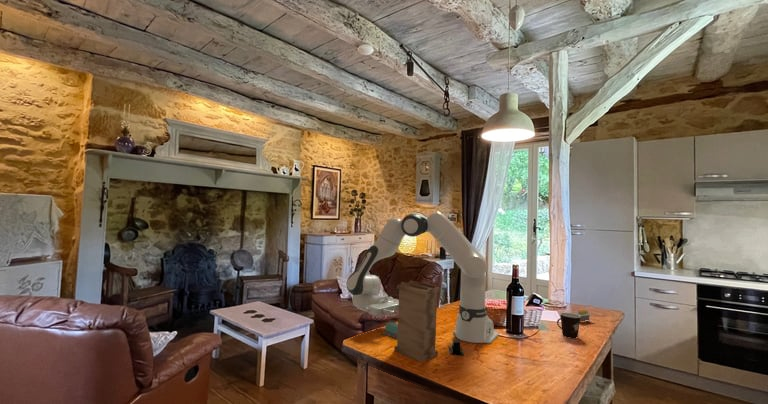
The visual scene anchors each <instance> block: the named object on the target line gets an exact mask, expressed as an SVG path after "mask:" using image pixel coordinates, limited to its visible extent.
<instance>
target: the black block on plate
mask: <svg viewBox="0 0 768 404" xmlns="http://www.w3.org/2000/svg"><path fill="white" fill-rule="evenodd" d="M448 351H449V352H448V353H449V354H450V356H458V357H462V356H463V357H465V353H464V350H463V348H462V346H461V340H460V339H457V338H456V339H455V338H454V339H453V338H452V340H451V346H449V345H448Z"/></svg>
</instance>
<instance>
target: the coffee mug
mask: <svg viewBox="0 0 768 404" xmlns="http://www.w3.org/2000/svg"><path fill="white" fill-rule="evenodd" d="M580 317H581V316H579V315H577V314H576V313H571V312H561V313H560V318H558V319H557V322H556V324H557V326H558V328H560V329H561V331H562V332H561V333H562V334H563V335H564V336H563V335H562V334H561V335H562V336H563V337H565V336H566V337H565V338H568V337H571V338H570V339H577V338H578V337H579V336H578V335H579V329H580V324H581V323H580ZM560 322H561V323H560ZM559 323H560V324H561V326H560V324H559ZM576 337H577V338H576Z"/></svg>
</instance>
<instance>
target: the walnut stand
mask: <svg viewBox="0 0 768 404" xmlns="http://www.w3.org/2000/svg"><path fill="white" fill-rule="evenodd" d="M396 289H398V300H399V308H398V311H397V313H398V315H397V324H398V335H397V339H396V340H397V341H396V345H395V346H394V350H393V352H395V353H398V354H399V355H403V356H404V357H405V356H406V357H408V358H410V359H413V360H416V361H417V362H421V363H423V362H426V361H428V360H430V359H433V358H435V357H437V356H438V355H439V354H438V352H439V351H438V349H437V348H436V339H437V337H436V336H437V309H438V308H437V305H438V304H437V303H438V293H440V290H441V289H440V287H439V286H437V285H434V284H430V283H425V282H419V281H415V280H409V282H405V281H400V284H399V283H398V284H397V285H396Z"/></svg>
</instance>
